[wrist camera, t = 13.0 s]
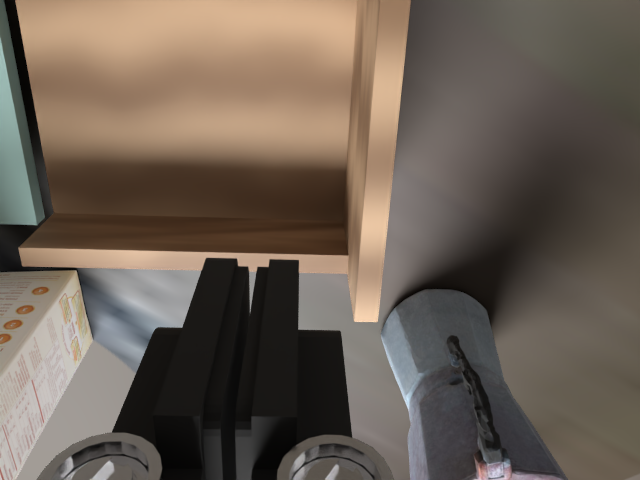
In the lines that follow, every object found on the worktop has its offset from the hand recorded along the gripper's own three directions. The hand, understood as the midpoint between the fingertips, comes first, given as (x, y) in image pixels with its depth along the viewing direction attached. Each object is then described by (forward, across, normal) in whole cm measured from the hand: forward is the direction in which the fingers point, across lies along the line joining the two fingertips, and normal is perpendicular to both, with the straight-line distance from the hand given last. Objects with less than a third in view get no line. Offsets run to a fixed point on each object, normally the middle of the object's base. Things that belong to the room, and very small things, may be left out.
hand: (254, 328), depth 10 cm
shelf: (+29, +5, 0) cm, 30 cm away
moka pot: (+29, -12, +20) cm, 37 cm away
